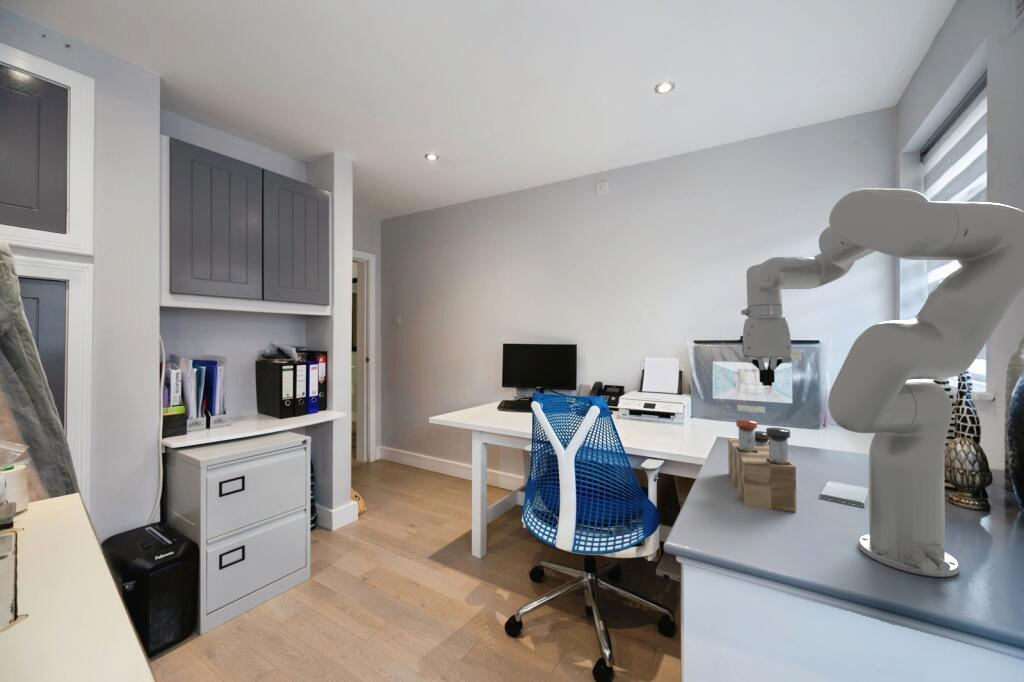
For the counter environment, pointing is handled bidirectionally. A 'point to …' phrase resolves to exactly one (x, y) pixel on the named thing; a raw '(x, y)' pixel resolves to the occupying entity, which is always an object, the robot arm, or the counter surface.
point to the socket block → (762, 478)
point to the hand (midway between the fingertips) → (767, 385)
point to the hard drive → (845, 493)
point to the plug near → (778, 445)
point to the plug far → (761, 438)
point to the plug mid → (746, 435)
